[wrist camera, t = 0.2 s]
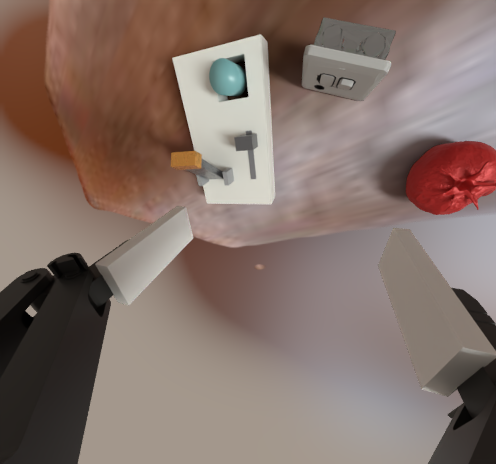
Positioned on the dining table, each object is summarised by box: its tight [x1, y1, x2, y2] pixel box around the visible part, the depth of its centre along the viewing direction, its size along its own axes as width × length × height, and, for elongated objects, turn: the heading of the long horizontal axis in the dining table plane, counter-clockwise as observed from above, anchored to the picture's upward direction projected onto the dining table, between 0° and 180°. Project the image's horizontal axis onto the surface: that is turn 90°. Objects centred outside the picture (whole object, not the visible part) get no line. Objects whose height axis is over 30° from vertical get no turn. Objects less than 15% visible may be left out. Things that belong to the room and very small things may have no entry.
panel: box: [172, 34, 275, 204], centre depth 34 cm, size 24×14×7 cm, turn 7°
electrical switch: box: [302, 18, 396, 101], centre depth 25 cm, size 9×5×9 cm, turn 78°
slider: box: [234, 133, 258, 151], centre depth 32 cm, size 2×3×3 cm
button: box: [209, 58, 247, 96], centre depth 29 cm, size 4×4×5 cm
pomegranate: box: [406, 141, 496, 215], centre depth 27 cm, size 10×10×9 cm
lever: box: [171, 151, 223, 179], centre depth 33 cm, size 2×4×10 cm, turn 97°
